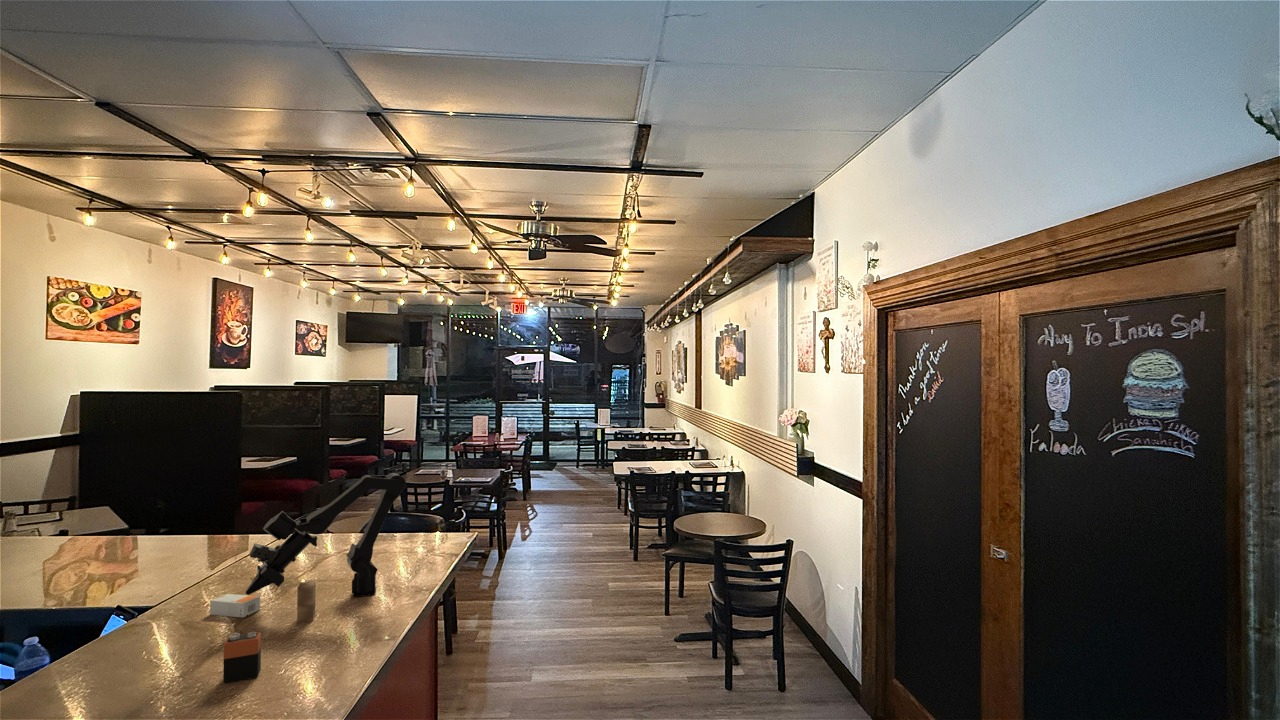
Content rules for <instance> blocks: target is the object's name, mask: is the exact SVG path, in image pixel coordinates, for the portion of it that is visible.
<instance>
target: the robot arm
mask: <svg viewBox="0 0 1280 720" xmlns="http://www.w3.org/2000/svg"><path fill="white" fill-rule="evenodd" d="M406 484H407V483H406V479H405V477H403V476H402V475H400V474H398V473H396V472H390V473H388V474H387V475H380V474H379V475H368V474H365V475H363V476H361V477H360V479H359V480H357V481H356V482H355V483H353V485H351V486H350V487H349V488H348V489H346V490H345V491H344V492H342V494H340V495H339V496H337V498H335V499H334V500H332V501H331V502H329V504H326V505H325V506H323V507H320V508H319V509H316V510H315V511H313V512H311V513H310V514H308V515H307V516H305V517H303V518H298V519H293V518H291V517H290V516H289V515H287V513H286V512H284V511H283V510H281V511H280V512H279V513H278V514H276V515H275V516H273V517H271V518H269V520H268V521H267V522H266V523H265V525H264V527H263V528H262V529H263V530H264V531H265V532H266V533H268V534H269V535H271V537H273V538H274V539H276V540H277V541H281V540H282V541H283V540H285V541H284V542H283V543H282V544H279V545H276V546H274V548H273V547H270V546H267V545H263V544H261V543H254V544H253V546H252V547H251V550H250V551H249V554H248V555H249V557H250V558H251V559H252V558H253V559H257V562H258V563H260V562H261V563H262V564H261V565H258V564H257V565H256V570H257V571H256V575H255V576H254V578H253V579H252V581H251V583H250V584H249V586H248V587H247V589H246V590H245V595H248V596H250V595H252V594H254V593H255V592H258V591H259V590H261V589H264V588H265V587H268V586H270V585H272V584H273V585H275V586H277V587H280V586H281V585H282V584H283V583H284V582H285V575H284V573H285V572H286V570H285V569H286V568H287V567H288V566H289V565H290V564H291V563H292V562H293V563H295V561H297V557H298V556H299V555H300V554H301V553H302V552H303V551H304V550H305V549H306V548H307V547H308V546H309V545H310V544H311V545H312V546H314V547H317V546H318V536H317V535H320V534H323V533H324V532H325V531H327V529H328V528H329V527H330V526H331V524H333V522H334V520H336V518H337V517H338V516H339V514H340V513H341V512H343V511H344V510H345V509H347V508H348V507H349V506H350V505H352V504H353V503H355V502H356V500H358V499H359V498H360V497H361V496H363V495H364V494H365V493H367V491H369V490H370V489H373V490H380V495H379V499H378V502H377V504H376V506H375V508H374V510H373V512H372V514H371V516H370V518H369V520H368V523H367V525H366V527H365V530H364V532H363V533H362V535H361V538H360V540H359V541H358V542H357V543H356V544H355V543H351V545H350V549H349V551H348V553H346V555H345V556H346V557H347V558H346V563H347V565H348V567H350V570H352V571H353V572H354V576H353V578H352V580H351V594H352V597H353V598H357V597H365V596H373V595H376V593H377V592H376V591H377V588H378V587H377V573H378V567H377V566H375V564H374V563H373V562H372V557H373V553H374V552H373V551H374V546H375V543H376V540H377V538H378V536H379V534H380V532H381V529H382V527H383V525H384V524H385V521H386V518H387V516H388V514H389V512H390V510H391V507H392V506H393V503H394V502H396V500H397V499H398V498H399V497H400V495H401V494H402V492H403V491H404V490H405V488H406Z"/></svg>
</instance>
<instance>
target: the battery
mask: <svg viewBox="0 0 1280 720" xmlns="http://www.w3.org/2000/svg"><path fill="white" fill-rule="evenodd" d="M261 661H262V634H261V632H256V631H251V632H248V633H246V634H241V633H237V632H235V633H233V634H230V635H229V637H227V639H226V640H225V641H224V643H223V672H222V675H223V677H222V679H223V681H222V682H223V683H224V684H229V683H234V682H240V680H241V681H245V680H250V679H251V680H252V679H255V678H258V677H259V674H260V671H261V665H262V662H261Z"/></svg>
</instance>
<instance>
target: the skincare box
mask: <svg viewBox="0 0 1280 720" xmlns="http://www.w3.org/2000/svg"><path fill="white" fill-rule="evenodd" d="M260 610H261V596H259V595H258V596H257V595H247V594H234V593H226V594H224V595H221V596H219V597H216V598H214V599H211V600H210V601H209V615H211V616H213V615H214V616H221V617H234V618H245V617H247V615H248V616H250V615H252V614H254V613H257V612H258V611H260Z"/></svg>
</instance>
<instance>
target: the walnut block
mask: <svg viewBox="0 0 1280 720" xmlns="http://www.w3.org/2000/svg"><path fill="white" fill-rule="evenodd" d="M316 583H317V582H316V581H309V582H300V583H299V584H298V586H297V591H296V592H297V595H296V596H297V598H296V599H297V600H296V601H297V602H296V605H297V606H296V607H297V608H296V609H297V610H296V623H297V624H301V623H307V622H308V623H309V622H313V621H314V620H315V618H316V592H317V591H316V587H317V586H316ZM314 617H315V618H314Z"/></svg>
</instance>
